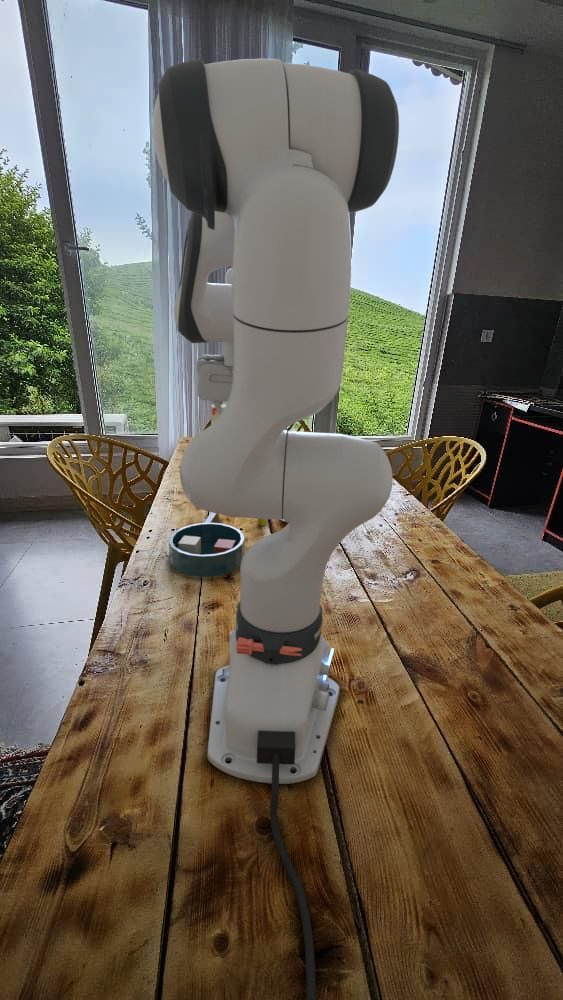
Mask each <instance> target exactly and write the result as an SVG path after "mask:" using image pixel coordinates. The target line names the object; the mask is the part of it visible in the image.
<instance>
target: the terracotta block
mask: <svg viewBox="0 0 563 1000" xmlns="http://www.w3.org/2000/svg"><path fill="white" fill-rule="evenodd" d="M235 546H236V540H226V539H218V541H217V542H216V544H215V546H214V554H217V553H221V552H225V551H228V550H230V549H232V548H234V547H235Z"/></svg>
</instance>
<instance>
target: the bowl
mask: <svg viewBox="0 0 563 1000" xmlns="http://www.w3.org/2000/svg"><path fill="white" fill-rule="evenodd" d="M183 536H195V537H201V553H200V555H199V554H191V553H187V552H184V551H181V550H180V549H178V543H179V541H180V540H181V539H182V538H183ZM218 539H226V540H236V546H235V547H234V548H232V549H230V550H228V551H225V552H221V553H217V554H214V546H215V544H216V542H217V541H218ZM245 546H246V545H245V536H244V533H243V532H242V531H241V530H240V529H239V528H237V527H234V526H233V525H229V524H226V523H220V522H216V523H204V522H199V523H198V522H197V523H194V524H189V525H186V526H183V527H180V528H178V529H177V530H175V531H173V533H171V535H170V536H169V539H168V551H169V563H170V565H171V566H172V568H173V569H175V571H177V572H179V573H180V574H183V575H186V576H190V577H199V578H209V577H210V578H211V577H217V576H223V575H226V574H229V573H231V572H233V571H235V570H237V569H238V568H240V566H241V561H242V558H243V556H244V554H245Z"/></svg>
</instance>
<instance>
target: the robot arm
mask: <svg viewBox="0 0 563 1000" xmlns="http://www.w3.org/2000/svg"><path fill="white" fill-rule="evenodd" d="M157 85H158V94H157V97H156V100H155V104H154V109H153V117H152V136H153V137H152V138H153V144H154V151H155V155H156V159H157V161H158V165H159V168H160V170H161V172H162V174H163V176H164V178H165V180H166V182H167V183H168V186H169V190H170V193H171V194H172V195H173V197H175V199H176V200H177V201H178V202H179V203H180V204H181V205H182V206H183V207H184V208H185V209H186V210H187V211H190V212H191V214H190V217H189V219H188V224H187V227H186V233H185V238H184V246H183V252H182V253H183V255H182V262H181V271H180V278H179V285H178V291H177V293H176V297H175V300H174V305H173V306H174V307H173V315H174V322H175V326H176V328H177V332H178V333H179V334H180V335H181V336H182V337H183V338H185V339H186V340H187V341H188V342H190V343H191V344H203V343H204V344H205V343H209V342H210V343H223V354H203V355H202V356H200V357H199V358H198V359H197V361H196V372H197V374H198V376H197V386H196V387H197V389H196V391H197V393H196V395H197V397H198V398H199V399H200V400H201V401H211V402H213V405H214V406H215V408H216V410H217V412H218V413H219V414H220V416H219V417H218V418H217V420H216V421H215V422H214V423H213V424H212V425H211V424H210V425H209V426H208V427H206V428H205V429H203V430H202V431H200V432H198V433H197V434H196V435H195V436H194V437H193V438H192V439H191V440H190V442H189V443H188V444H187V446H186V447H185V449H184V451H183V452H182V453H183V454H182V456H181V459H180V465H179V479H180V483H181V487H182V489H183V492H184V494H185V496H186V498H187V499H188V501H189V502H190V503H191V504H192V506H193V507H195V508H196V509H199V510H203V511H206V512H209V513H211V512H213V513H217V514H219V515H221V516H226V517H230V518H242V519H245V518H246V519H257V520H258V519H267V520H276V521H277V520H278V521H283V522H288V523H287V524H286V525H285V526H284V527H283V528H281V529H280V530H277V531H276V532H273V533H271V534H268V535H266V536H263V537H262V538H259V539H258V540H257V541H255V542H254V543H253V544H252V545H250V546H249V548H248V549H247V550H246V551H244V556H243V558H242V561H241V565H240V566H239V568H240V569H239V570H240V574H239V575H240V579H239V582H240V583H239V585H240V586H239V588H240V591H239V599H240V600H239V602H238V604H237V610H236V613H235V628H233V629H232V630H231V631H230V632H229V662H228V663H229V664H228V665H225V666H223V667H221V668H219V669H217V671H216V672H215V677H214V686H213V695H212V705H211V714H210V723H209V733H208V742H207V743H208V745H207V755H206V756H207V757H206V758H207V760H208V762H209V763H210V764H212V766H214V767H215V768H217V769H218V770H220V771H221V772H223V773H225V774H227V775H229V776H232V777H235V778H238V779H242V780H244V781H245V780H246V781H251V782H256V783H261V784H262V783H263V784H269V785H270V784H271V793H270V794H271V795H270V806H269V807H270V808H269V821H270V827H271V833H272V838H273V841H274V843H275V846H276V849H277V851H278V854H279V857H280V860H281V862H282V864H283V867H284V869H285V871H286V873H287V876H288V877H289V878H288V879H289V880H290V882H291V885H292V887H293V890H294V893H295V896H296V901H297V904H298V908H299V914H300V921H301V925H302V926H301V927H302V934H303V943H304V955H305V991H306V993H305V994H306V996H305V997H306V998H305V1000H317V986H316V961H315V946H314V938H313V929H312V923H311V916H310V912H309V911H310V910H309V907H308V902H307V899H306V895H305V891H304V888H303V885H302V882H301V880H300V877H299V875H298V873H297V871H296V868H295V866H294V864H293V862H292V860H291V858H290V856H289V853H288V852H287V849H286V847H285V844H284V841H283V837H282V836H281V831H280V828H279V827H280V825H279V820H278V806H279V794H280V793H279V792H280V788H279V787H280V785H288V784H289V785H290V784H297V783H301V782H305V781H309V780H310V779H312V778H314V777H316V776H317V774H318V772H319V768H320V766H321V762H322V759H323V754H324V751H325V747H326V744H327V740H328V736H329V733H330V729H331V726H332V723H333V719H334V715H335V711H336V708H337V705H338V702H339V697H340V686H339V685H338V683H337V682H335V681H334V680H333V679H331V678H329V676H330V672H331V662H332V658H333V655H334V650H335V648H331V644H330V643H329V641H327V639H326V638H325V637H324V636H323V634H322V629H323V624H324V623H323V622H324V618H323V607H322V605H321V598H322V590H323V585H324V584H323V583H324V579H325V573H326V569H327V565H328V564H329V560H330V559H331V557H332V554H333V553H334V552H335V550H336V549H337V547H338V546H339V544H341V542H342V541H343V540H344V539H345V538H346V537H347V536H348V535H349V534H351V532H353V531H354V530H355V529H357V528H358V527H360V526H362V525H363V524H365V523H366V522H368V521H370V520H372V519H374V518H375V517H376V516H377V515H378V514H379V513H380V512H381V511H382V510H383V509H384V507H385V506H386V504H387V502H388V501H389V498H390V496H391V493H392V488H393V481H394V478H393V476H394V475H393V469H392V465H391V462H390V459H389V457H388V455H387V453H386V451H385V449H383V448H382V446H381V444H379V443H378V442H376V441H373V440H369V439H366V438H362V437H358V436H354V435H349V434H344V433H337V432H336V433H333V432H319V431H318V432H317V431H316V432H314V431H295V430H294V431H293V430H288V427H289V428H290V426H292V425H294V424H296V423H298V422H301V421H303V420H306V419H307V418H310V417H312V416H315V415H316V414H318V413H319V412H321V411H322V410H323V409H324V408H325V407H327V405H329V404H330V403H331V401H332V400H333V399H334V398H335V397H336V395H337V394H338V392H339V389H340V387H341V384H342V379H343V378H342V377H343V370H344V369H343V368H344V360H345V351H346V342H347V331H348V322H349V314H350V303H351V302H350V301H351V290H352V289H351V288H352V287H351V286H352V237H351V236H352V235H351V223H350V221H351V220H350V214H353V213H357V212H361V211H363V210H367V209H369V208H370V207H373V206H374V205H375V204H376V202H377V201H378V200H379V199H380V198H381V196H382V195H383V194H384V192H385V191H386V189H387V187H388V185H389V183H390V180H391V178H392V175H393V171H394V167H395V163H396V158H397V153H398V148H399V147H398V146H399V137H400V136H399V133H400V116H399V108H398V103H397V101H396V98H395V95H394V94H393V92H392V89H391V86H390V84H389V83H388V82H387V81H386V80H384V79H382V78H380V77H379V76H376V75H374V74H372V73H369V72H366V71H363V70H359V69H355V68H354V69H353V68H352V69H350V70H349V71H348V72H345V71H342V70H341V71H340V70H337V69H332V68H327V67H323V66H316V65H312V64H311V65H308V64H304V63H292V62H282V60H281V59H280V58H245V59H234V60H224V61H217V62H211V63H205V62H204V61H203V59H202V58H198V59H192V60H187V61H183V62H179V63H176V64H174V65H171V66H169V67H166V69H165V71H164V73H163V75H162V77H161V78H160V80H159V82H158V84H157ZM231 266H232V267H231ZM226 267H230V268H229V269H227V271H226V274H225V279H224V283H213V282H208V281H209V276H210V275H211V273H213V272H215V271H216V270H219V269H222V268H226ZM224 402H226V403H225V405H226V406H225V408H224V410H223V409H222V407H221V405H222V404H224ZM330 648H331V649H330ZM228 762H230V763H228ZM293 772H295V773H293Z"/></svg>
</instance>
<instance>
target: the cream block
mask: <svg viewBox="0 0 563 1000" xmlns="http://www.w3.org/2000/svg"><path fill="white" fill-rule="evenodd" d="M178 549H180V550H181V551H184V552H187V553H191V554H199V555H200V553H201V537H195V536H183V538H182V539H181V540H180V541H179V543H178Z"/></svg>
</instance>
